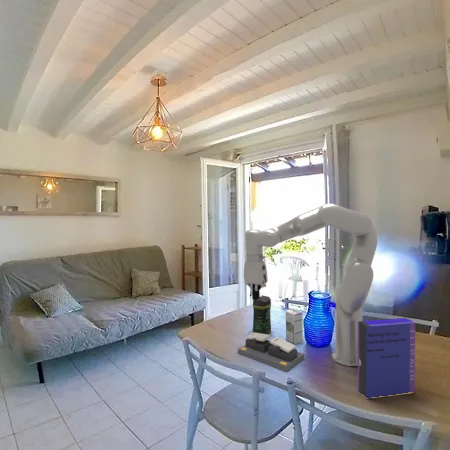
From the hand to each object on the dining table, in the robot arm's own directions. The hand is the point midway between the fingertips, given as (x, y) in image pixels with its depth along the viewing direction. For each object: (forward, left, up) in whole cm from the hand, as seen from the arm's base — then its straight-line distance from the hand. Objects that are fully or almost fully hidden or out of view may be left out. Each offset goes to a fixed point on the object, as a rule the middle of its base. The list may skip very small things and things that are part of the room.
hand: (255, 299), depth 137 cm
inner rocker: (-15, +2, -16) cm, 22 cm away
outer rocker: (-3, +2, -16) cm, 16 cm away
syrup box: (-9, -18, -23) cm, 30 cm away
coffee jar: (+8, -16, -23) cm, 29 cm away
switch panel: (-9, +2, -23) cm, 24 cm away
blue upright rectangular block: (-53, -1, -23) cm, 57 cm away
